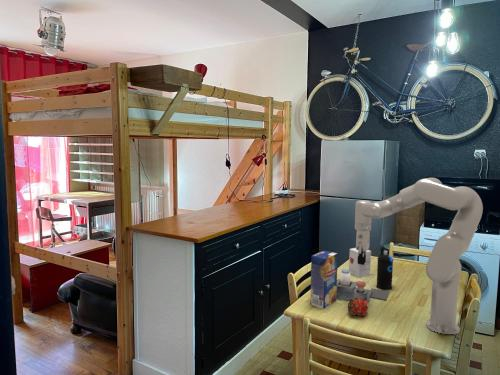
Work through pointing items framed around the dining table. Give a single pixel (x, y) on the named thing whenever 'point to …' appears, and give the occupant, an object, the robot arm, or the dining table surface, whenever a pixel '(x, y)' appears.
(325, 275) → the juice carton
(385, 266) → the aerosol can
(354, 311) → the dragon fruit
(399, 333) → the dining table surface
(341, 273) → the cylinder
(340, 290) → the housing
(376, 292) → the mat
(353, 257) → the supplement box
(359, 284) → the plunger
